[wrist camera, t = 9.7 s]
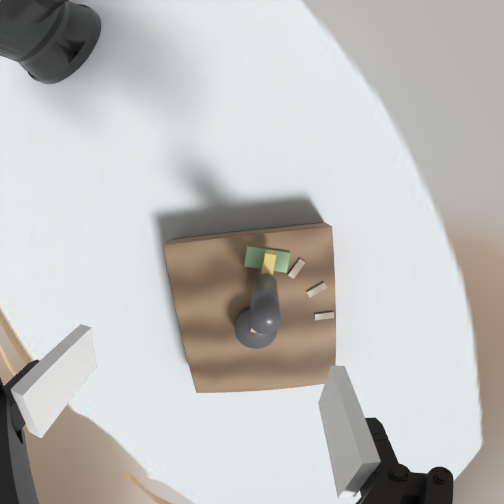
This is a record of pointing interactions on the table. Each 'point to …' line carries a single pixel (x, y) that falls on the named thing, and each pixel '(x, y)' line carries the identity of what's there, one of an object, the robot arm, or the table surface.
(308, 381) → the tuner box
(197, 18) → the table surface
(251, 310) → the dark grey lever
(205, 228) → the table surface
